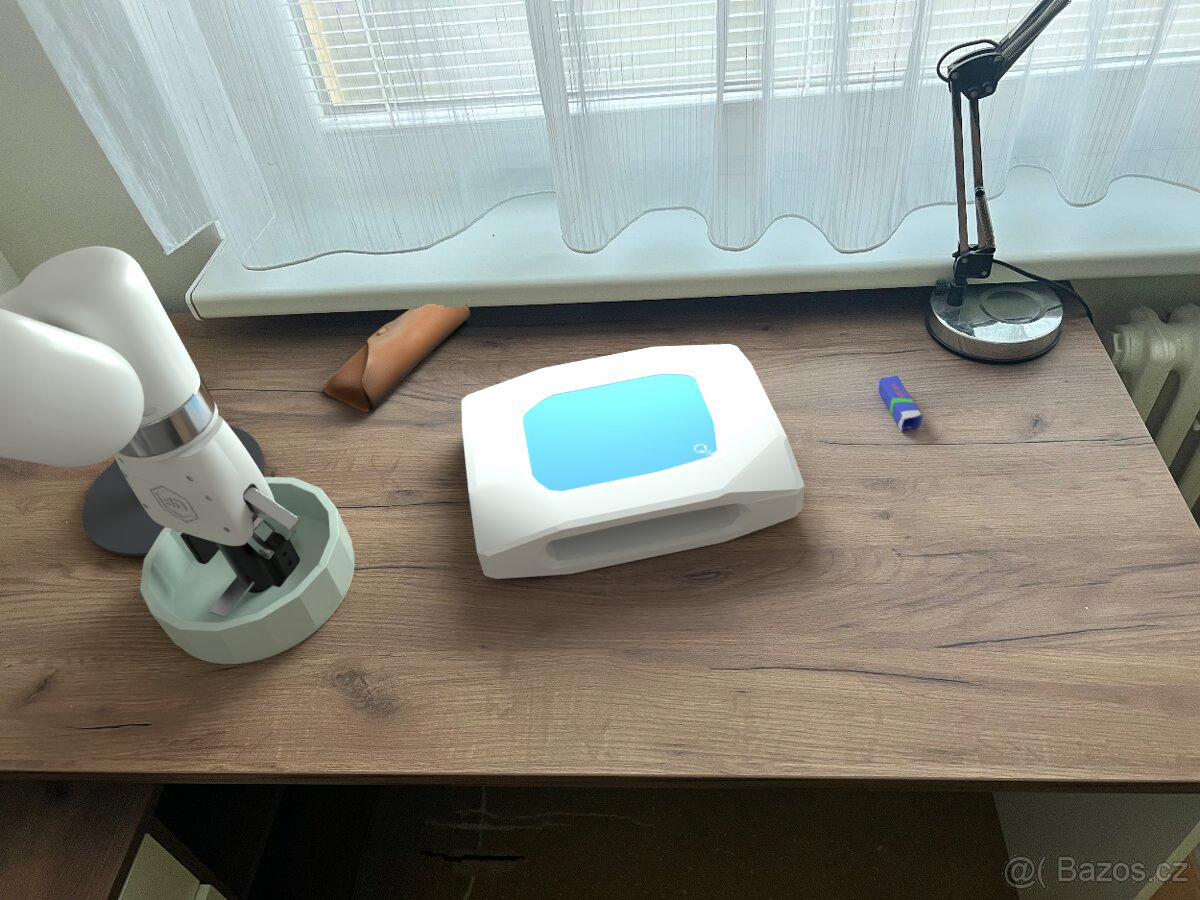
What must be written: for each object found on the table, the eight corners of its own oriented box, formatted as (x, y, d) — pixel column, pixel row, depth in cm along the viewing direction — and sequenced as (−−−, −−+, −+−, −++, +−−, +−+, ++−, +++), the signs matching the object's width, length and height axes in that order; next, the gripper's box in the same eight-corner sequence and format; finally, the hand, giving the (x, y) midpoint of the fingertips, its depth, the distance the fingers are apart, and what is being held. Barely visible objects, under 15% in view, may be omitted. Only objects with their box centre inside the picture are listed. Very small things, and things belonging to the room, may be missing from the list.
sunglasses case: (416, 302, 106) (427, 267, 101) (462, 337, 107) (475, 304, 101) (316, 392, 96) (322, 359, 90) (367, 431, 96) (377, 400, 91)
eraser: (899, 433, 83) (902, 417, 82) (877, 393, 88) (879, 377, 86) (919, 430, 83) (923, 414, 82) (896, 390, 88) (899, 374, 86)
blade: (238, 629, 74) (203, 579, 69) (210, 620, 75) (175, 570, 70) (306, 541, 80) (280, 490, 76) (280, 534, 81) (252, 482, 77)
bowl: (205, 702, 70) (178, 668, 66) (143, 578, 80) (116, 543, 76) (387, 588, 76) (371, 552, 73) (308, 486, 86) (291, 450, 83)
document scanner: (470, 429, 90) (457, 383, 85) (734, 377, 92) (735, 329, 87) (488, 592, 75) (473, 546, 70) (803, 526, 76) (808, 477, 72)
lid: (115, 593, 79) (72, 539, 74) (67, 488, 90) (26, 435, 84) (294, 494, 86) (266, 438, 80) (230, 408, 96) (201, 353, 91)
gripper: (33, 424, 64) (144, 571, 77) (217, 472, 58) (306, 623, 71) (107, 361, 69) (201, 509, 81) (285, 400, 63) (357, 553, 76)
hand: (249, 561), depth 76 cm, fingers open, 7 cm apart
